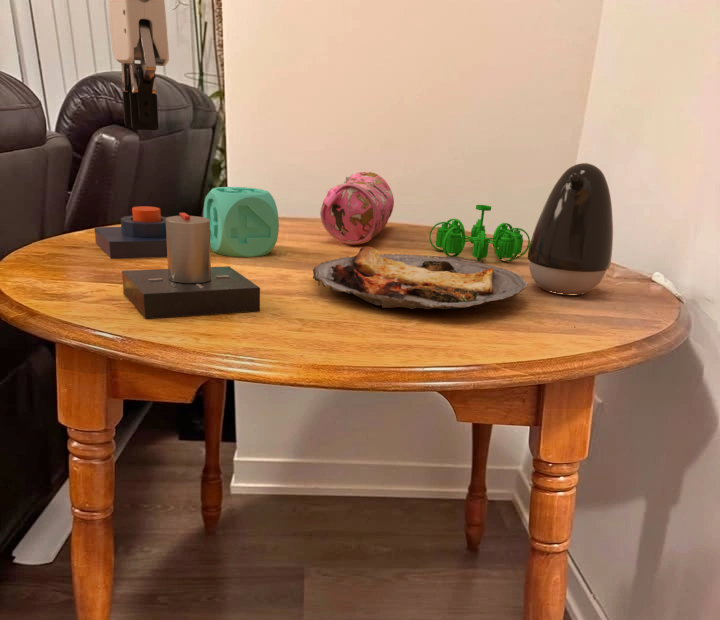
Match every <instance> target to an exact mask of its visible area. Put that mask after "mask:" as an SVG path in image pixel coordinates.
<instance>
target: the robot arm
mask: <svg viewBox="0 0 720 620" xmlns="http://www.w3.org/2000/svg"><path fill="white" fill-rule="evenodd" d="M108 13H109V15H108V16H109V28H110V31H109V32H110V43H111V50H112V56H113V58H114V60H116V62H118V63H120V65H121V84H122V105H123V119H124V121H123V122H124V125H125V127H128V128H132V130H137V131H157V130H159V112H158V111H159V110H158V109H159V108H158V94H157V92H158V91H157V77H156V71H157V67H158V66H159V67H165V66H167V64H168V63H169V61H170V53H169V40H168V27H167V16H166V15H167V14H166V13H167V12H166V4H165V0H108ZM136 61H138V62H137V63H136ZM139 61H140V63H139Z"/></svg>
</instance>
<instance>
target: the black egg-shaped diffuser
mask: <svg viewBox="0 0 720 620" xmlns="http://www.w3.org/2000/svg"><path fill="white" fill-rule="evenodd" d="M606 178H607V177H606V176H605V174H604V173H603V171H602V170H601V169H600V168H599V167H598V166H596V165H595V164H592V163H588V162H581V163H577V164H574V165H571V166H570V167H568V168H567V169H566V170H565V171H564V172H563V173H562V174H561V176H560V177H559V178H558V179H557V181H556V182H555V184H554V185H553V187H552V189H551V190H550V193H549V195H548V196H547V198H546V201H545V203H544V204H543V207H542V210H541V212H540V214H539V217H538V219H537V221H536V224H535V227H534V231H533V233H532V236H531V238H530V246H529V248H528V250H527V251H528V252H527V257H526V258H527V260H528V261H529V262H528V263H529V264H528V265H529V271H530V275H531V277H532V280H533V281H534V283H535V284H536V285H537V286H538V287H539V288H541V289H542V290H543V291H545V290H547V291H546V292H548V291H552V292H556V293H563V294H581V295H583V294H582V293H584V294H587V293H589V292H591V291H592V290H594V289H595V288H597V286H598V285H599V284H600V283H601V282H602V280H603V278H605V277H604V276H605V275H606V273H607V270H608V269H610V267H611V263H612V257H613V245H614V241H613V240H614V221H613V206H612V205H613V204H612V198H611V192H610V191H611V190H610V188H609V184H608V181H607V179H606Z"/></svg>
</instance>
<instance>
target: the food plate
mask: <svg viewBox="0 0 720 620" xmlns="http://www.w3.org/2000/svg"><path fill="white" fill-rule="evenodd" d="M312 274H313V276H312V279H314V281H316V282H317V283H318V285H317V287H319V286H321V285H322V287H323V288H325V287H326V286H330V289H331V291H334V292H345V293H348V294H349V295H351V294H353V295H354V296H356V297H357V298H360V299H362V300H364V301H365V302H367V303H370V304H373V305H376V306H381V309H383V308H385V309H386V308H388V309H389V308H390V309H391V308H392V309H394V308H407V309H410V310H411V309H412V310H414V309H424V310H425V309H426V310H430V309H440V310H450V309H454V310H455V309H460V308H462V309H464V308H469V307H473V306H478V305H481V304H484V303H488V302H492V301H499V300H502V301H505V300H506V298H510V297H515V296H516V295H517V294H519V293H520V292H522V291H524V289H526V287H527V286H528V285H529V283H528V282H526V280H524V277H523V276H521V275H519V274H518V273H516V272H514V271H512V270H508V269H506V268H502V267H498V266H494V265H489V264H486V263H485V262H482V261H481V262H479V261H477V260H475V259H470V258H464V257H458V256H456V257H449V256H444V255H443V256H440V255H432V256H428V255H420V254H410V253H409V254H404V253H402V254H401V253H400V254H399V253H394V254H393V253H388V254H386V253H385V254H379V252H378V250H377V249H375V248H374V247H371V246H362V247H360V249H359V250H358V253H357V254H355V255H354V256H346V257H345V256H343V257H339V258H336V259H332V260H328V261H327V260H326V261H324V262H323V261H322V262H320V263H319V264H317V265H316V266H314V267H313V268H312ZM320 283H321V285H320Z"/></svg>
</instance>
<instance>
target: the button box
mask: <svg viewBox="0 0 720 620" xmlns="http://www.w3.org/2000/svg"><path fill="white" fill-rule="evenodd" d="M167 217H168V216H162V215H161V221H159V222H138V221H133V215H127V216H123V217H120V226H96V227H95V226H94V237H95V244H96V245H97V246H98V247H99V248H100V250H101V251H102V252H103V253H105V254H107V255H108V256H109V257H110V258H109V257H108V256H107V255H106V256H107V257H108V258H109V259H110V260H117V259H118V260H119V259H122V260H123V259H151V258H153V259H154V258H167V238H166V218H167Z"/></svg>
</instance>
